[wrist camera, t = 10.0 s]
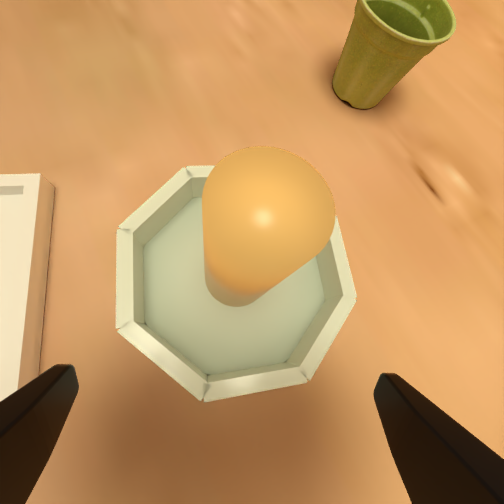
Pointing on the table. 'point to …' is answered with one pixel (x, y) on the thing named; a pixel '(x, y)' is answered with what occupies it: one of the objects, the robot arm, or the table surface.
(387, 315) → the table surface
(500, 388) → the table surface
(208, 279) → the orange tapered cylinder
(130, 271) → the sage bowl
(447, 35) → the plant pot
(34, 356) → the parts tray
